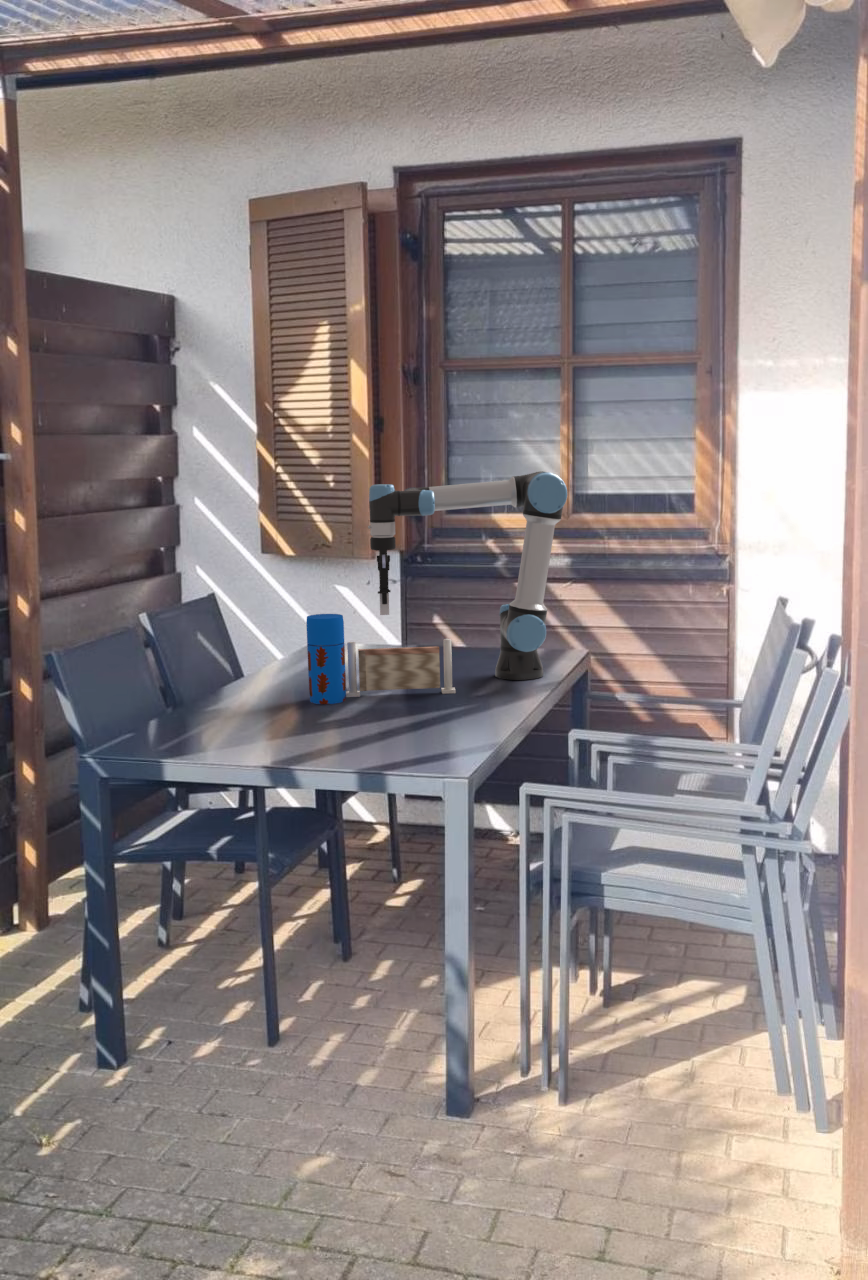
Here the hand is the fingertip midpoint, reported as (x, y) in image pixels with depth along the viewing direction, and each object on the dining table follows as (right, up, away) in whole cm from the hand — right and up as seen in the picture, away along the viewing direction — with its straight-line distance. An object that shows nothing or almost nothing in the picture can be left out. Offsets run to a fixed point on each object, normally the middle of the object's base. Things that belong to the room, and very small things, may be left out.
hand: (384, 614), depth 416 cm
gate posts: (+5, -24, -4) cm, 25 cm away
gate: (+5, -22, -4) cm, 23 cm away
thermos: (-16, -26, -11) cm, 32 cm away
